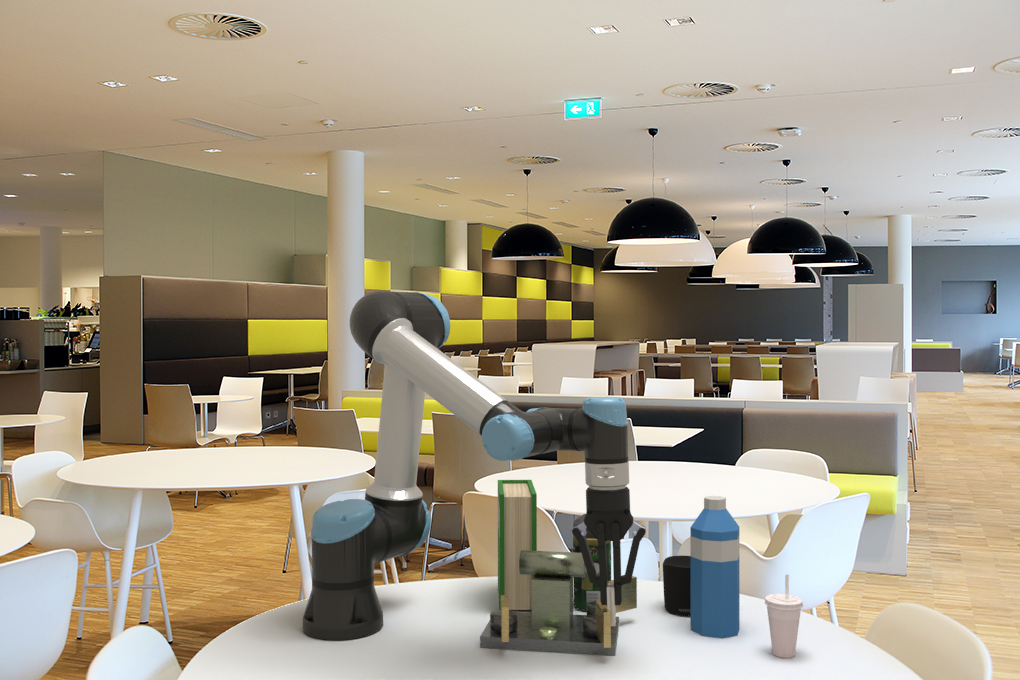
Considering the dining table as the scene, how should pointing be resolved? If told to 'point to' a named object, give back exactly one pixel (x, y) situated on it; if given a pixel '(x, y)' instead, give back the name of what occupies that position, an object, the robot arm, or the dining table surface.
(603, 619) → the knob right
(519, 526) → the hardback book
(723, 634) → the water bottle
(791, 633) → the smoothie
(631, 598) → the knob rear
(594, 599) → the coffee jar
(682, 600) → the black smart speaker
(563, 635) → the base
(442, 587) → the dining table surface
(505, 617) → the knob left
